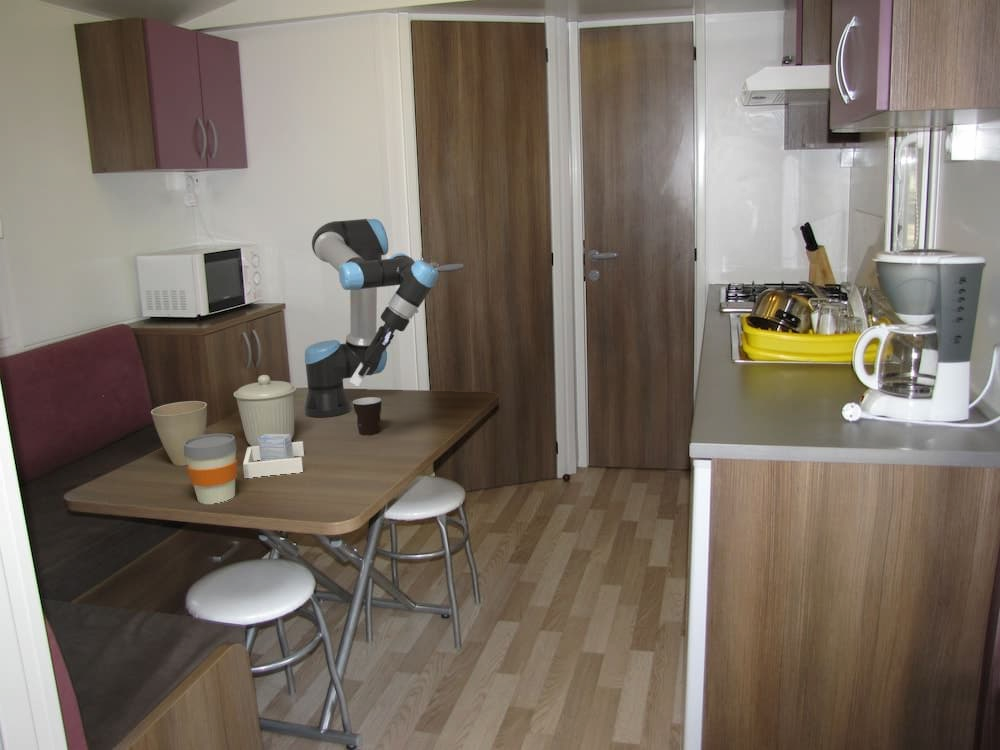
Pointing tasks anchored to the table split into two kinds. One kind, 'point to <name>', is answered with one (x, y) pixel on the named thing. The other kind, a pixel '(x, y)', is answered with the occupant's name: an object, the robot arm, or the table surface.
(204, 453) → the reusable coffee cup
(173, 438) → the plant pot
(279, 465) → the shallow white tray
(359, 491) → the table surface
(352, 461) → the table surface
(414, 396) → the table surface
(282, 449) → the medicine box
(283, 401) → the canister
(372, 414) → the coffee mug
